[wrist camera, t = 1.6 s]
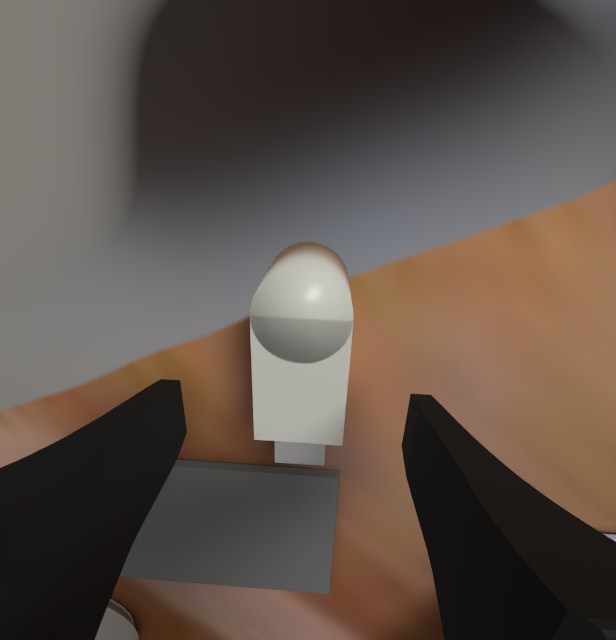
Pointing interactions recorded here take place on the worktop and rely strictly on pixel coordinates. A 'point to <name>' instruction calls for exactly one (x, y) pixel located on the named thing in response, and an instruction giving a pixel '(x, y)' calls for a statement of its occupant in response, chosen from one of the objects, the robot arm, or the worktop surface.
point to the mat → (240, 527)
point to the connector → (301, 353)
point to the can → (117, 624)
